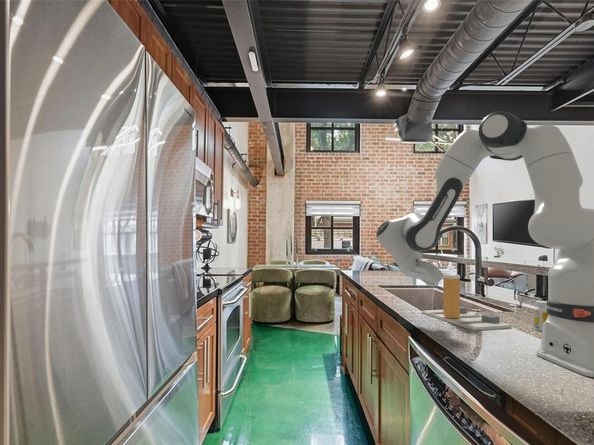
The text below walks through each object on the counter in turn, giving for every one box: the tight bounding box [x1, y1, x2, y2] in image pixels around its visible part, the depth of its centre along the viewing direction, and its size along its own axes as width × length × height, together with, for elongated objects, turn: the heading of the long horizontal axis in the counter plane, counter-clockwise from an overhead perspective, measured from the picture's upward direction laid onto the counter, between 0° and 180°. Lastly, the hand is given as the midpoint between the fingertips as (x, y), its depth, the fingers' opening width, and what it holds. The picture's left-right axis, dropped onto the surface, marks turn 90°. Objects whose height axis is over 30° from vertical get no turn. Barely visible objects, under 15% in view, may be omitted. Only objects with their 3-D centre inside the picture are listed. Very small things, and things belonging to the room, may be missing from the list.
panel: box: [421, 305, 512, 331], centre depth 134 cm, size 28×16×3 cm, turn 15°
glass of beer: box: [442, 273, 461, 318], centre depth 133 cm, size 4×4×16 cm
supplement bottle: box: [533, 300, 548, 332], centre depth 120 cm, size 5×5×10 cm
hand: (432, 285), depth 131 cm, fingers closed
